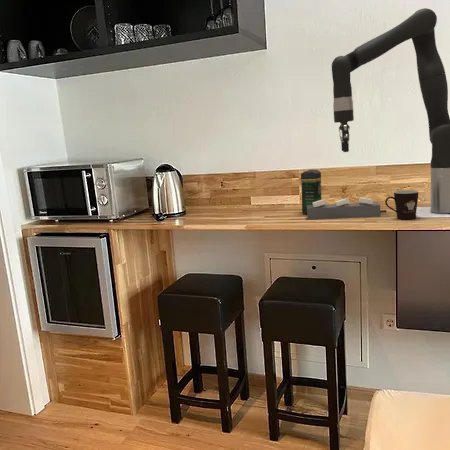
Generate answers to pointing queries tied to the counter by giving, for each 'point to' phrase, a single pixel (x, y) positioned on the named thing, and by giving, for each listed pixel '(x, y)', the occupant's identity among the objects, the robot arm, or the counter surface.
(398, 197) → the coffee mug
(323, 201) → the far rocker
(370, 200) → the near rocker
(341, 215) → the power strip
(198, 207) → the counter surface
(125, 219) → the counter surface
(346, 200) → the middle rocker
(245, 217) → the counter surface
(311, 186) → the coffee jar
